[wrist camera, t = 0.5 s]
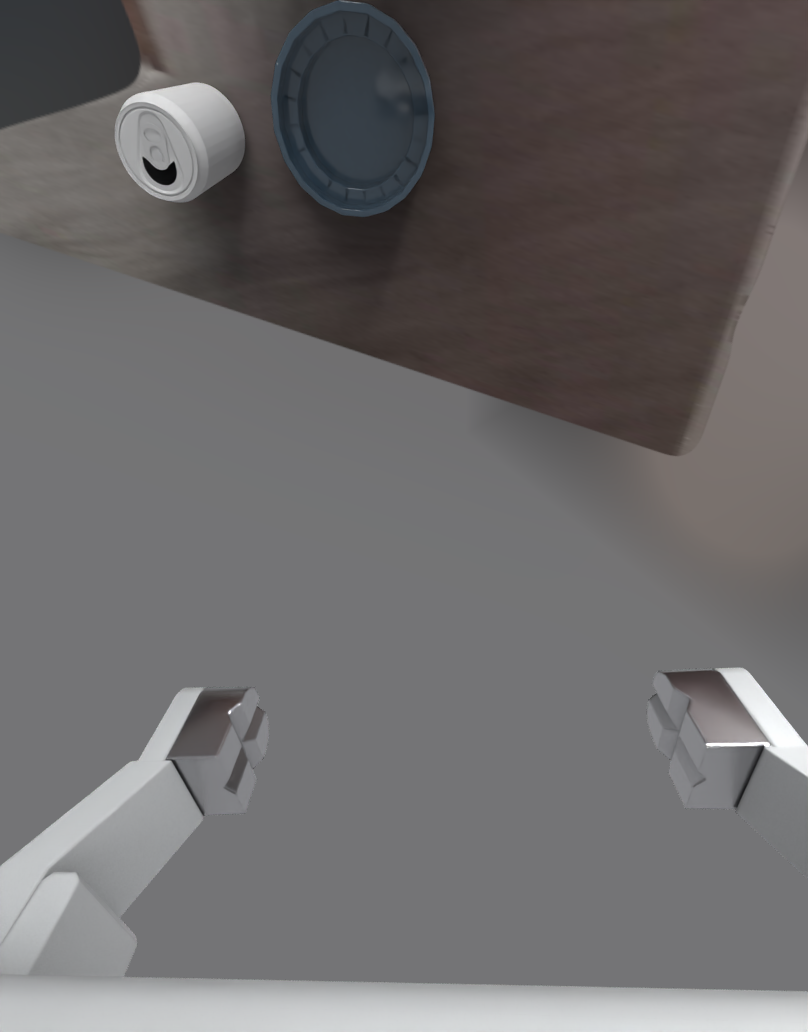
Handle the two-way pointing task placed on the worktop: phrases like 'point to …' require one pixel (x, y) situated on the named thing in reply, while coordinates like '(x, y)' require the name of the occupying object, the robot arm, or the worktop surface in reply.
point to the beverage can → (179, 140)
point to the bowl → (353, 108)
